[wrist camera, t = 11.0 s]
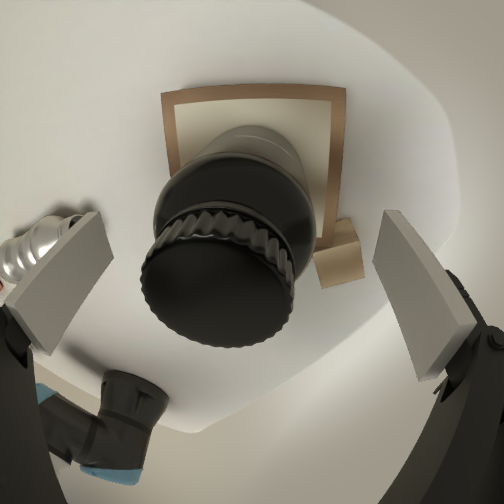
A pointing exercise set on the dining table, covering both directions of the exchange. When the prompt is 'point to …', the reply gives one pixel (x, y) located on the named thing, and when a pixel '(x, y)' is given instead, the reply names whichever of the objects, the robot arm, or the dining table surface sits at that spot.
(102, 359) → the dining table surface
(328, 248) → the beech cube
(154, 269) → the supplement bottle
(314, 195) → the base
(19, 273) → the plastic bottle
